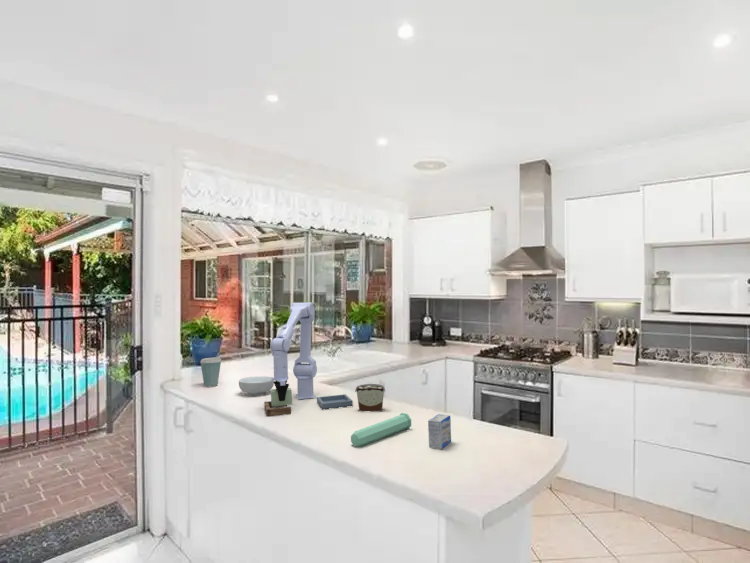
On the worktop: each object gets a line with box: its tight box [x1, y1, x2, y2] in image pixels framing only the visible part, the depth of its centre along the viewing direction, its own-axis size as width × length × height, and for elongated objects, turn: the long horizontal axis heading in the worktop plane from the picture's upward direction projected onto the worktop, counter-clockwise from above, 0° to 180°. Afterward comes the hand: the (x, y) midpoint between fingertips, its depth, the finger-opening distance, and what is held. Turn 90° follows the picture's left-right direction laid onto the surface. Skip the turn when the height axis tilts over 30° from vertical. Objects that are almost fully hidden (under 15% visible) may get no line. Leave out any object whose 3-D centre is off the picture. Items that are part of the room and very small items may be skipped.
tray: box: [316, 393, 354, 410], centre depth 192 cm, size 12×13×2 cm
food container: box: [354, 383, 386, 413], centre depth 183 cm, size 12×6×10 cm, turn 84°
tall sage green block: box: [270, 387, 293, 407], centre depth 185 cm, size 4×8×6 cm, turn 108°
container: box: [350, 412, 412, 448], centre depth 150 cm, size 6×6×25 cm
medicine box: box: [427, 413, 452, 450], centre depth 141 cm, size 8×4×9 cm, turn 148°
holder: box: [263, 400, 292, 417], centre depth 185 cm, size 14×10×2 cm
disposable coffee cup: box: [199, 356, 222, 388], centre depth 236 cm, size 11×11×15 cm
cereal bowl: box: [238, 375, 275, 396], centre depth 217 cm, size 17×17×7 cm
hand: (281, 399), depth 185 cm, fingers closed on tall sage green block, 4 cm apart
